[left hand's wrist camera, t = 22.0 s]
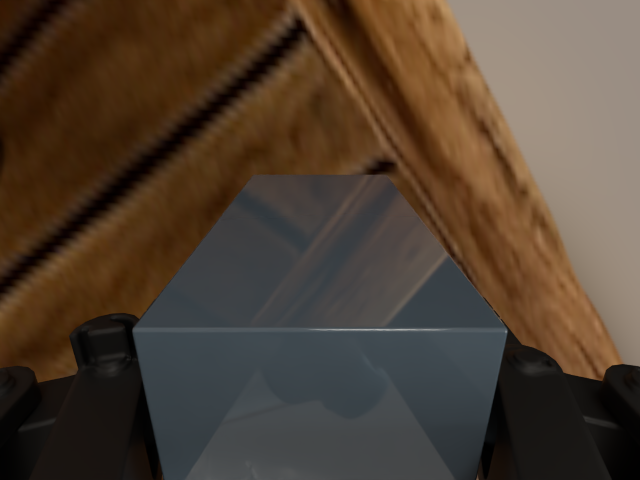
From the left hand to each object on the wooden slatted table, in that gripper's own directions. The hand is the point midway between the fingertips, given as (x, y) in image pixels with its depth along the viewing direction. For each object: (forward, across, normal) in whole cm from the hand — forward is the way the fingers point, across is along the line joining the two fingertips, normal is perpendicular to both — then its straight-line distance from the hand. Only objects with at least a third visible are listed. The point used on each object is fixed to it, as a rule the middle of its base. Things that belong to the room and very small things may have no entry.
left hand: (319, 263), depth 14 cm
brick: (+2, 0, 0) cm, 2 cm away
